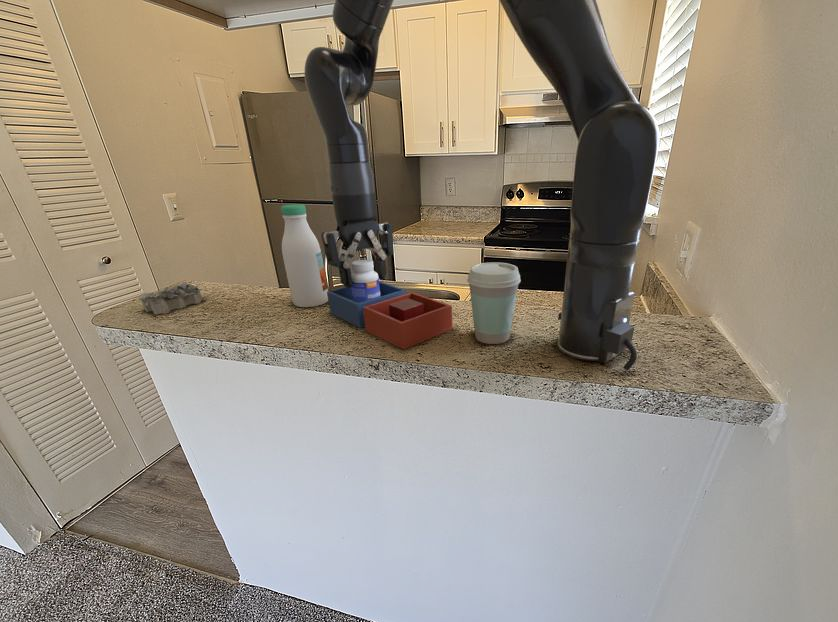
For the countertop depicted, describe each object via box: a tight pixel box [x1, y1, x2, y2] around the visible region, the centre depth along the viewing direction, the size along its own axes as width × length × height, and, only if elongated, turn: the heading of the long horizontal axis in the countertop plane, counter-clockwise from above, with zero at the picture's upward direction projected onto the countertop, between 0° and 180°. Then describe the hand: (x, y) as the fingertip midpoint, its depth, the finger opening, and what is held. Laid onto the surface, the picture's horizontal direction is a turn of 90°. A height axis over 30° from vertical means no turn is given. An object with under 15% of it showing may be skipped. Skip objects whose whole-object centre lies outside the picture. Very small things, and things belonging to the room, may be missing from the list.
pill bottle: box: [351, 259, 381, 303], centre depth 79 cm, size 5×5×10 cm
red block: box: [389, 298, 424, 322], centre depth 72 cm, size 4×4×4 cm
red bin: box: [363, 291, 453, 350], centre depth 72 cm, size 11×11×5 cm
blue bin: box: [327, 280, 407, 329], centre depth 81 cm, size 11×11×5 cm
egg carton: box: [138, 281, 203, 315], centre depth 88 cm, size 11×8×4 cm
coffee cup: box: [466, 261, 522, 345], centre depth 67 cm, size 8×8×12 cm
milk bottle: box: [280, 203, 329, 308], centre depth 84 cm, size 8×8×20 cm
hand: (365, 282), depth 79 cm, fingers open, 7 cm apart
